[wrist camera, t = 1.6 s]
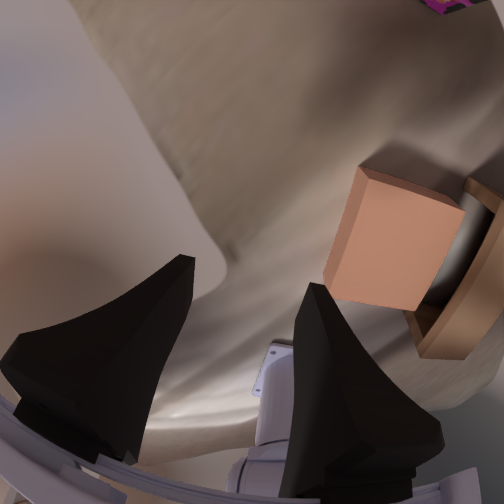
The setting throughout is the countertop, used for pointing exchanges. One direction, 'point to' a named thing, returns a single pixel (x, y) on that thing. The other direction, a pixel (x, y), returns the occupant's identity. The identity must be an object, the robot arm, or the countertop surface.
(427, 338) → the tan wooden box
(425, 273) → the terracotta brick
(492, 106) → the countertop surface
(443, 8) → the candy bar box
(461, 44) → the countertop surface
